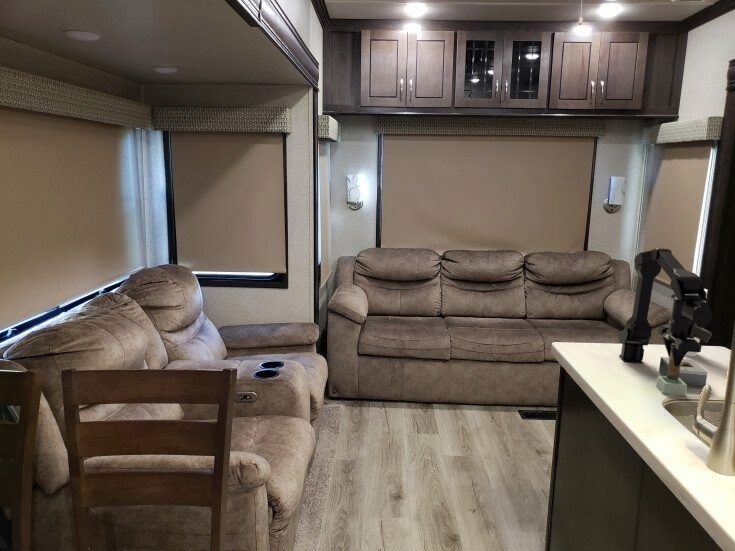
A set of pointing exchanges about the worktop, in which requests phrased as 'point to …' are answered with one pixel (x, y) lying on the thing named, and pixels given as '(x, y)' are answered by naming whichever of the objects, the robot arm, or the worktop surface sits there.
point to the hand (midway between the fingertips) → (674, 364)
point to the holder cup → (671, 386)
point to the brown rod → (673, 369)
